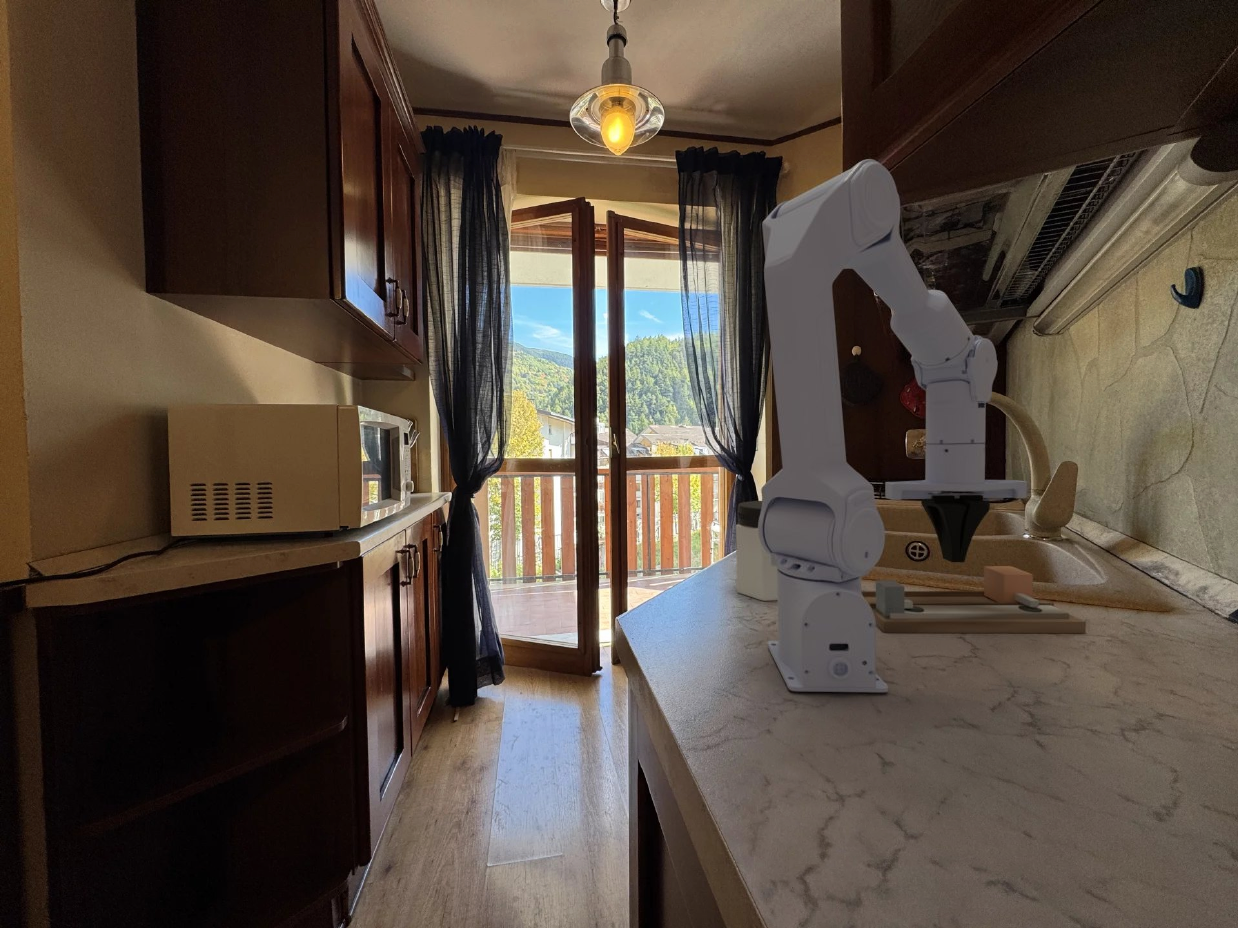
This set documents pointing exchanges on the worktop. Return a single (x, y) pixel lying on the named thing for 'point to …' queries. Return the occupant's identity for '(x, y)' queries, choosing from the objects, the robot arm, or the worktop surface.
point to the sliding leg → (1009, 585)
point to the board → (972, 615)
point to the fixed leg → (890, 598)
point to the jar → (753, 556)
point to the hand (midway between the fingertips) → (953, 560)
